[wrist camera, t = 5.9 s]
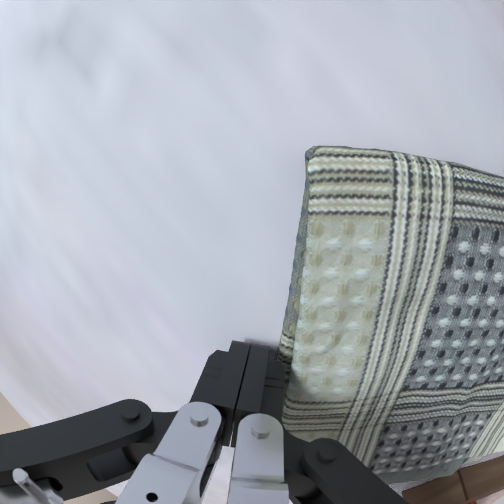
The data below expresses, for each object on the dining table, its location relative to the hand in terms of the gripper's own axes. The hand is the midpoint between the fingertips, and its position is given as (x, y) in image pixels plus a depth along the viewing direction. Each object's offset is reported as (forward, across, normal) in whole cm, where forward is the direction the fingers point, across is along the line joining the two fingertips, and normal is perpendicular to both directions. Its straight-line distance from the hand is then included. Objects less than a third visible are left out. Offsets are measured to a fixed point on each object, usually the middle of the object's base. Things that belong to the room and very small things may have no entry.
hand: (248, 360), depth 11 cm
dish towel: (+1, -10, 0) cm, 10 cm away
